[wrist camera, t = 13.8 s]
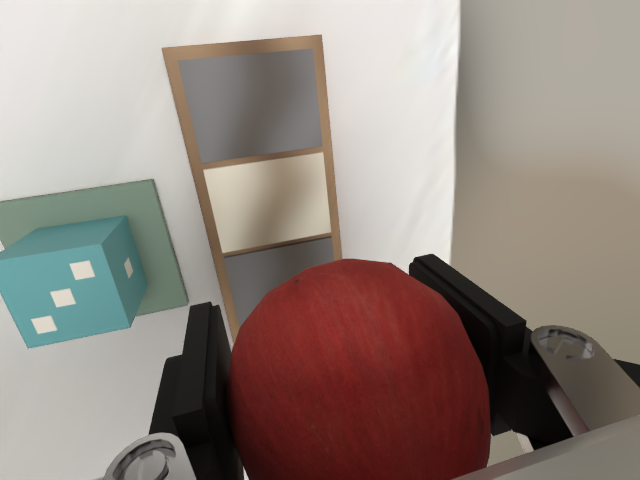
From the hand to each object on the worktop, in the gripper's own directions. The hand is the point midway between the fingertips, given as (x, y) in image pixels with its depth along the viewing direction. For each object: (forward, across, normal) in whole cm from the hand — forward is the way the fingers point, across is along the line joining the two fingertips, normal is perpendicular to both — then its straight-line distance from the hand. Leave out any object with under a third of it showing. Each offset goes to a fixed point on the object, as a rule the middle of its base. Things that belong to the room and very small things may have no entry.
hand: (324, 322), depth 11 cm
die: (+15, +11, +2) cm, 19 cm away
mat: (+15, +11, +2) cm, 19 cm away
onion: (+1, 0, 0) cm, 1 cm away
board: (+15, 0, +3) cm, 16 cm away
